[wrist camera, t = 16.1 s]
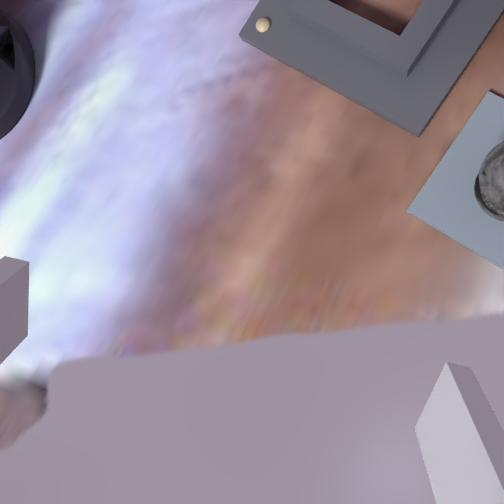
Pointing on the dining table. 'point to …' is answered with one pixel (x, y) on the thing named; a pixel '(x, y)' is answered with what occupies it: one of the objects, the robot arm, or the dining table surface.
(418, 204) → the slate mat
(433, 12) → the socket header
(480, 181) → the salt shaker
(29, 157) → the dining table surface
